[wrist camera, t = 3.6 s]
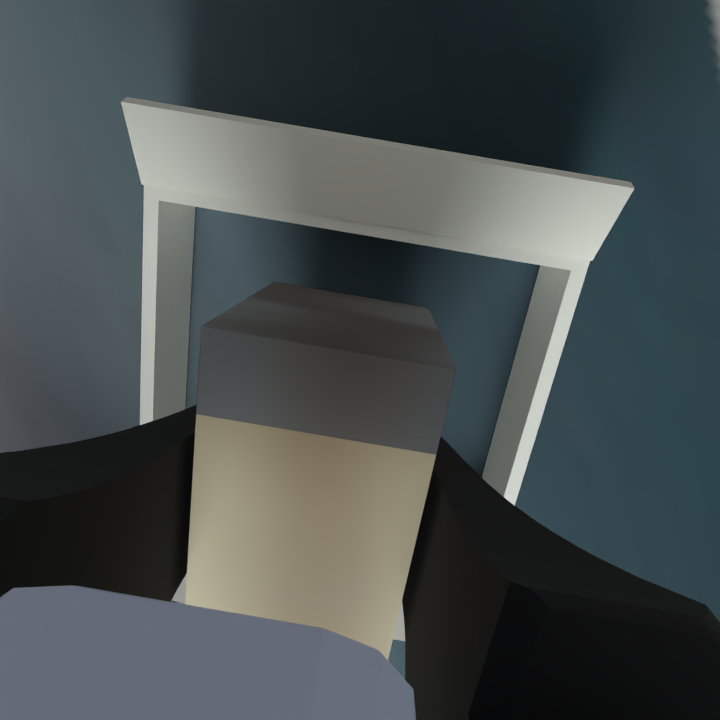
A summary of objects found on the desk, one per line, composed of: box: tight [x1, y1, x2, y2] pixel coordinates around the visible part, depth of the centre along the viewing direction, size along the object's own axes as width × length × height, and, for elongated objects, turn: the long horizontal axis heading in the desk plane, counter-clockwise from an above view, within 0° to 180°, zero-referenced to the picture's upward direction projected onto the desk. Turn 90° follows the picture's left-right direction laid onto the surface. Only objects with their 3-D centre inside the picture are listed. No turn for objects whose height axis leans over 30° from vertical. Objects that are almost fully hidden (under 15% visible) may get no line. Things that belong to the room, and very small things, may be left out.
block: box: [185, 282, 456, 660], centre depth 11 cm, size 4×7×5 cm, turn 171°
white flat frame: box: [121, 97, 634, 641], centre depth 15 cm, size 12×14×4 cm
